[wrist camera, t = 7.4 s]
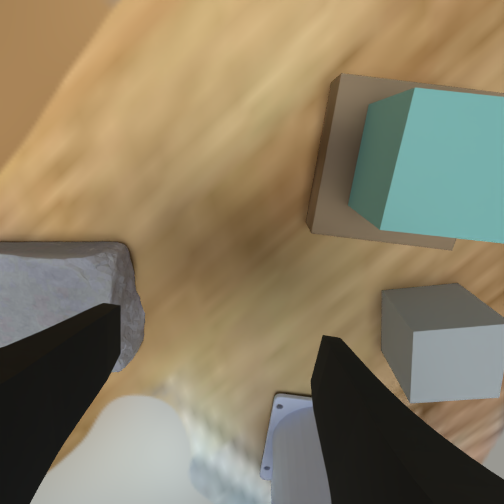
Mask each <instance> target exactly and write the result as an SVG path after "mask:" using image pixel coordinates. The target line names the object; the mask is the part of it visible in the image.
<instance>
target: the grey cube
mask: <svg viewBox="0 0 504 504" xmlns="http://www.w3.org/2000/svg"><path fill="white" fill-rule="evenodd" d="M381 351H382V353H383V354H384V356H385V358H386V360H387V362H388V364H389V366H390V367H391V369H392V371H393V373H394V375H395V377H396V378H397V380H398V382H399V384H400V386H401V388H402V389H403V391H404V393H405V395H406V397H407V399H408V400H409V402H410V403H423V402H438V401H453V400H468V399H484V398H499V396H500V390H501V384H502V378H503V372H504V317H502V316H501V315H500V314H498V313H497V312H496V311H494V310H493V309H492V308H490V307H489V306H488V305H486V304H485V303H484V302H482V301H481V300H480V299H478V298H477V297H476V296H474V295H473V294H472V293H470V292H469V291H468V290H466V289H465V288H464V287H462V286H461V285H460V284H458V283H453V284H442V285H432V286H422V287H411V288H401V289H391V290H382V331H381Z"/></svg>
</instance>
